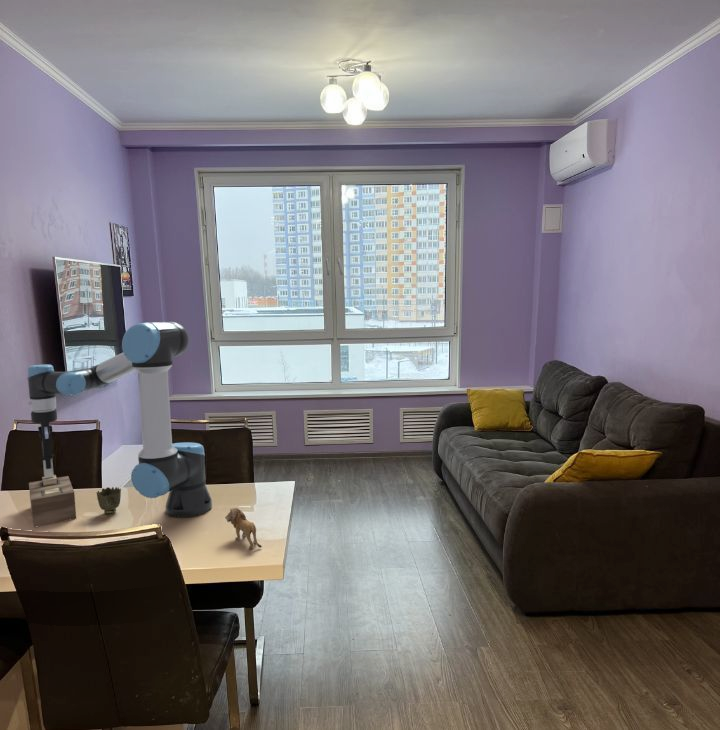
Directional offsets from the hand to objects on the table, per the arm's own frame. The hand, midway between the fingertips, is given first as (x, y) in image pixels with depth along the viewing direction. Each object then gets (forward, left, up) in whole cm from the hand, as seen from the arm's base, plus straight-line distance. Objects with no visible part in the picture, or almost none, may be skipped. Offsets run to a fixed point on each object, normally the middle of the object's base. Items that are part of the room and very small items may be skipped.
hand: (49, 476), depth 179 cm
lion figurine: (-63, -45, -12) cm, 79 cm away
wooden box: (-5, 0, -11) cm, 12 cm away
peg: (0, 0, -8) cm, 8 cm away
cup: (-17, -16, -11) cm, 26 cm away
